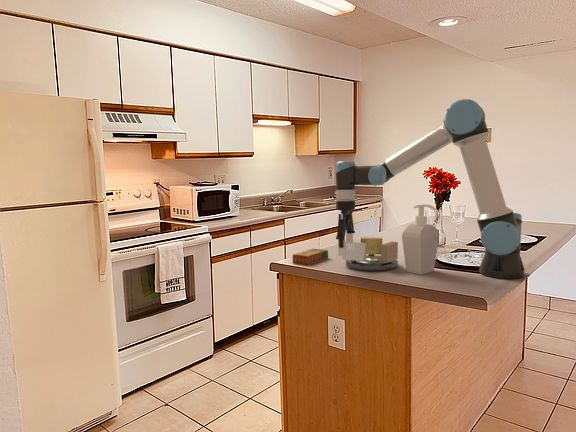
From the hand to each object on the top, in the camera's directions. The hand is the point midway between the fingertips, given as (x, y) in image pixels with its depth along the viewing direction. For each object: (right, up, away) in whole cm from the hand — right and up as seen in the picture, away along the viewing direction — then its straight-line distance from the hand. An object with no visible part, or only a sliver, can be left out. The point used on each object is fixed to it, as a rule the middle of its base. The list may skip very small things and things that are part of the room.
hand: (345, 252), depth 181 cm
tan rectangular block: (+17, -4, -3) cm, 18 cm away
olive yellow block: (+12, -2, +10) cm, 16 cm away
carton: (-14, -5, +13) cm, 20 cm away
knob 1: (+3, -4, -1) cm, 5 cm away
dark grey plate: (+11, -6, +2) cm, 12 cm away
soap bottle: (+28, -7, -9) cm, 30 cm away
